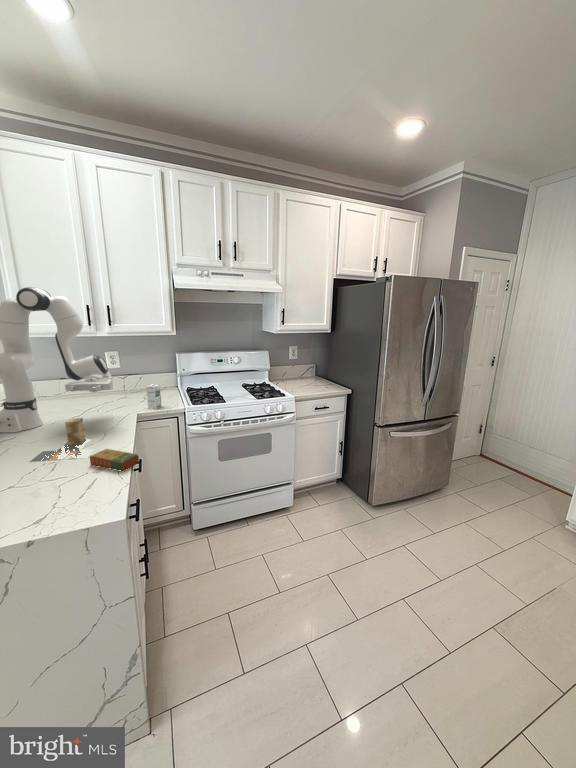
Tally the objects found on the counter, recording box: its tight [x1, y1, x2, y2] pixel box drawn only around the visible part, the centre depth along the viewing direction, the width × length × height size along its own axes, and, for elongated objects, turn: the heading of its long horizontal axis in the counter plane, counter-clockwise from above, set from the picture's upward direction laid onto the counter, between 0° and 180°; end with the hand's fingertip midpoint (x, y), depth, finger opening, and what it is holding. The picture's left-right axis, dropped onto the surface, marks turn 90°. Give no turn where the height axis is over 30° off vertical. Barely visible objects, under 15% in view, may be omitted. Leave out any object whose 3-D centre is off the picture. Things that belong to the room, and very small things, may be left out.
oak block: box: [64, 417, 86, 446], centre depth 142 cm, size 5×5×11 cm
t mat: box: [29, 441, 81, 463], centre depth 138 cm, size 21×23×1 cm
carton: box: [89, 448, 140, 472], centre depth 124 cm, size 8×16×4 cm, turn 73°
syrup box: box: [145, 383, 162, 410], centre depth 197 cm, size 6×6×14 cm
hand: (83, 389), depth 151 cm, fingers open, 8 cm apart
